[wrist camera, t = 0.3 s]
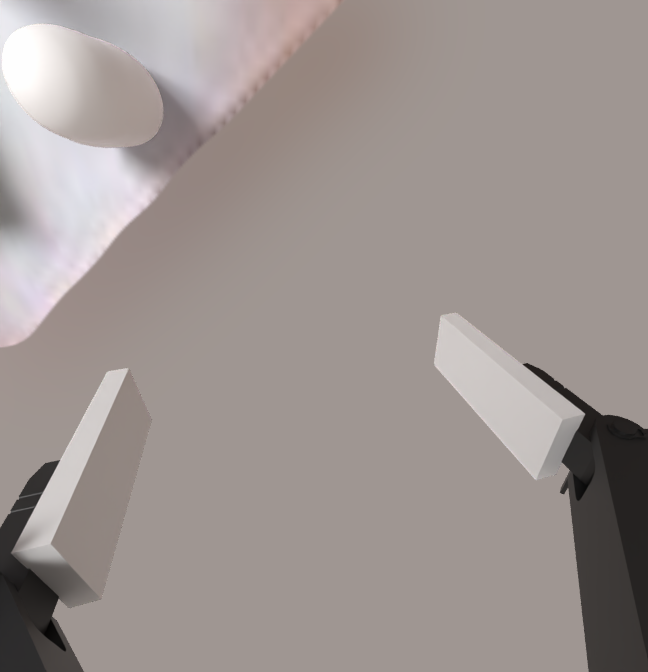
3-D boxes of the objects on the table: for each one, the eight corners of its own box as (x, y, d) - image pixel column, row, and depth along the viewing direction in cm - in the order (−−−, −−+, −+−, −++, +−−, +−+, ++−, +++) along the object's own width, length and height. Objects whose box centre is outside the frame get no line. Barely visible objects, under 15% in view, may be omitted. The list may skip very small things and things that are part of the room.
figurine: (57, 41, 27) (-49, -17, 17) (160, 56, 29) (121, 11, 19) (81, 144, 30) (6, 146, 20) (172, 151, 32) (145, 156, 22)
